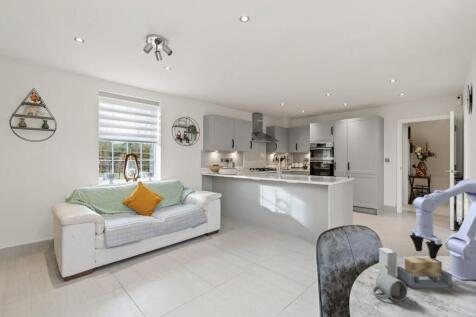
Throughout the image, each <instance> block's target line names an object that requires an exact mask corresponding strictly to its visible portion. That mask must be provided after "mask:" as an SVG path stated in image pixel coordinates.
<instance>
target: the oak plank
mask: <svg viewBox="0 0 476 317" xmlns="http://www.w3.org/2000/svg"><path fill="white" fill-rule="evenodd" d="M442 267H443V264H442V261H440V260H438V259H436V258H434V259H431V258H430V257H416V258H415V257H414V258H413V257H411V258H410V257H409V258H407V257H406V258H404V269H405V270H406V271H408V272H409V273H411V274H412V275H414V277H429V276H442V270H443V268H442Z"/></svg>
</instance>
